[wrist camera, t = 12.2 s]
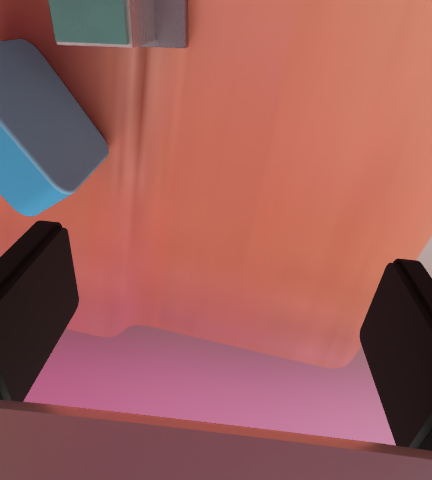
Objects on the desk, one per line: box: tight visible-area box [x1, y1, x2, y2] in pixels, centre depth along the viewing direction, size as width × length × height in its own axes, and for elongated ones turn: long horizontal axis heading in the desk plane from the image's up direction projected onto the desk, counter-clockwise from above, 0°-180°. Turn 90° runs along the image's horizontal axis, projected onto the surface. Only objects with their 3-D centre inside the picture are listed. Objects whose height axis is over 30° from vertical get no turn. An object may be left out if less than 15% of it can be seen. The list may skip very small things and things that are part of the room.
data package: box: [0, 39, 109, 216], centre depth 31 cm, size 12×4×12 cm, turn 30°
